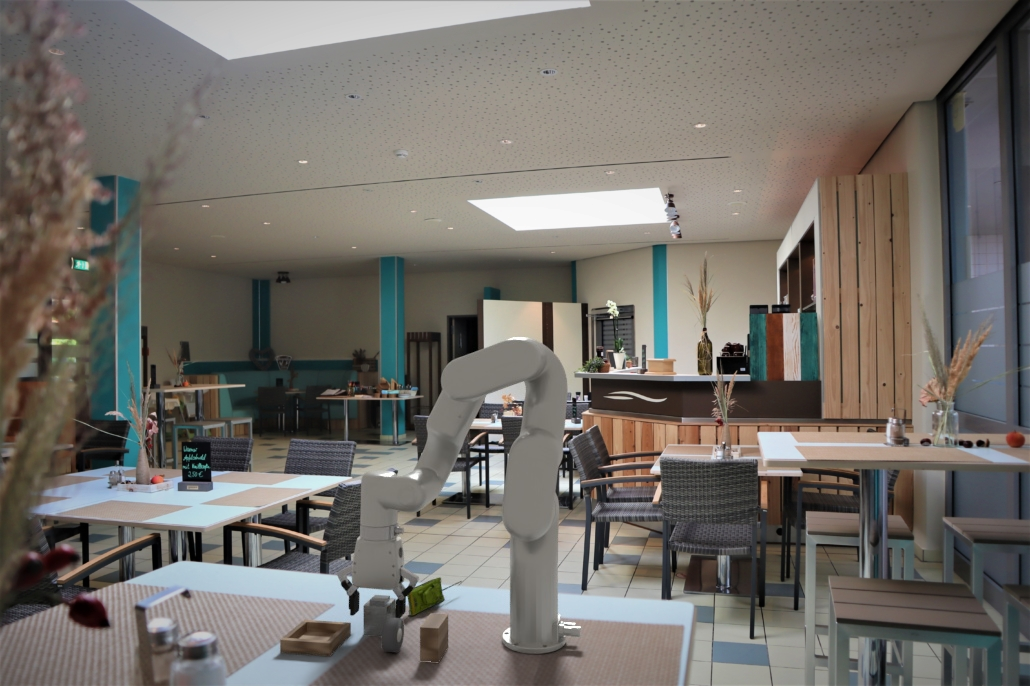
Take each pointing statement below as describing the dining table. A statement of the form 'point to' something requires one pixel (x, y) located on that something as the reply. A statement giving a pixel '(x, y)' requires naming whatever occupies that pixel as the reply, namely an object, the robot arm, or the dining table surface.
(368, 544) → the robot arm
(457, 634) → the dining table surface
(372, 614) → the block
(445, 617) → the block
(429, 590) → the toy tank
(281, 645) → the tray
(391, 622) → the wheel
